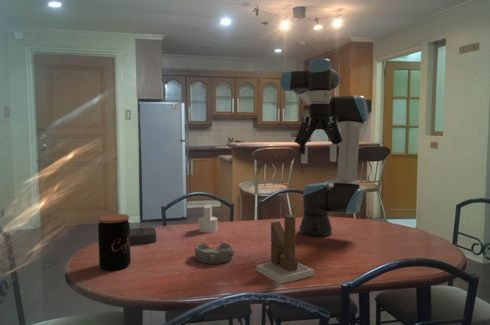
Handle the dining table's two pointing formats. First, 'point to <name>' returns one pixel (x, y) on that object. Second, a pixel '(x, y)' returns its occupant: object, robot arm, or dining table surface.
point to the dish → (213, 253)
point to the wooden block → (284, 244)
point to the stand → (284, 272)
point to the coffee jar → (114, 242)
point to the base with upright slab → (208, 221)
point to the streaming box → (142, 236)
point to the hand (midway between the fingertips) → (318, 162)
